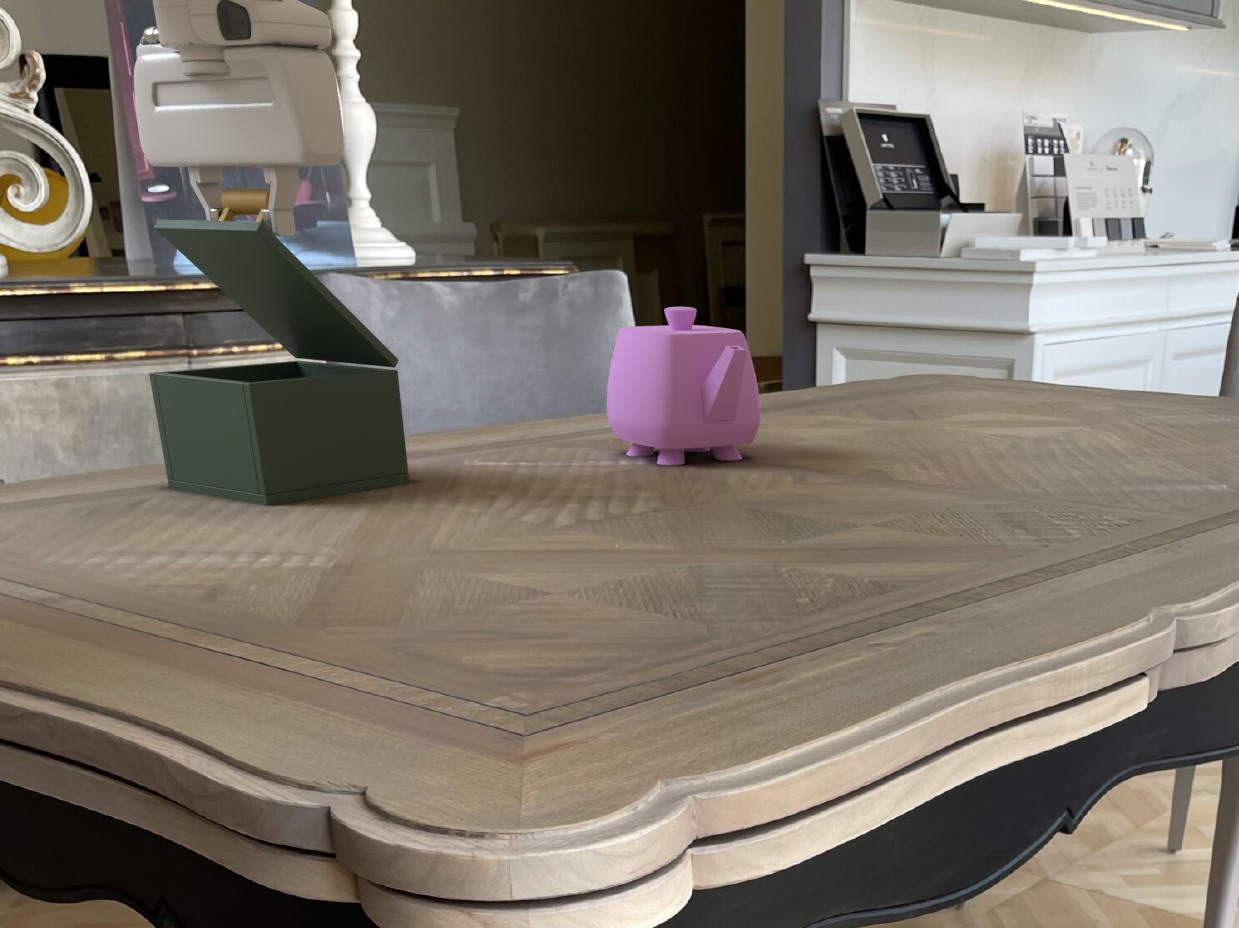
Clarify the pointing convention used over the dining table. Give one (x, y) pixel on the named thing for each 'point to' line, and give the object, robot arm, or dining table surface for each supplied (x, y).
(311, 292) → the lid
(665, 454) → the teapot
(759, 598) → the dining table surface
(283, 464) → the chest
